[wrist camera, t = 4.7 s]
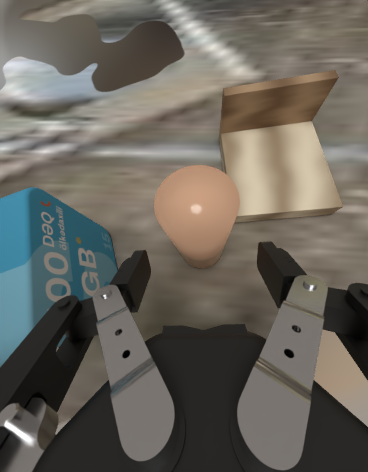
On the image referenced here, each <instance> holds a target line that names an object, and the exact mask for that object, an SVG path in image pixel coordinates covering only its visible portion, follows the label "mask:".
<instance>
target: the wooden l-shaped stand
mask: <svg viewBox="0 0 368 472" xmlns="http://www.w3.org/2000/svg"><path fill="white" fill-rule="evenodd" d="M338 78H339V77H338V75H337V73H336V71H335V70H333V71H327V72H321V73H315V74H309V75H303V76H297V77H291V78H285V79H279V80H273V81H267V82H261V83H255V84H249V85H243V86H237V87H231V88H224V89H223V98H222V110H221V122H220V134H219V142H220V149H221V156H222V164H223V171H224V173H225V174H226V175H228V176H229V177H230V178H231V179H232V181H233V182H234V183H235V185H236V187H237V189H238V192H239V197H240V207H239V211H238V214H237V217H236V219H235V222H234V223H236V222H247V221H259V220H271V219H283V218H294V217H306V216H318V215H329V214H332V213H334V212H335V211H337V210H339V209H340V208H342V207H343V205H342V203H341V200H340V197H339V194H338V192H337V189H336V186H335V183H334V181H333V178H332V175H331V173H330V170H329V167H328V164H327V162H326V159H325V156H324V153H323V151H322V148H321V145H320V142H319V140H318V137H317V134H316V132H315V129H314V126H313V123H312V120H313V118H314V117H315V115H316V113H317V112H318V110H319V108H320V107H321V105H322V104H323V102H324V100H325V99H326V97H327V96H328V94H329V92H330V91H331V89H332V87H333V86H334V84H335V83H336V81H337V79H338Z"/></svg>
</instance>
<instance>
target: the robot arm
mask: <svg viewBox="0 0 368 472" xmlns="http://www.w3.org/2000/svg"><path fill="white" fill-rule="evenodd" d="M257 267H258V270H259V272H260V274H261V276H262V278H263V280H264V282H265V284H266V286H267V288H268V290H269V292H270V294H271V296H272V298H273V299H274V301H275V303H276V305H277V307H278V308H280V310H279V312H278V315H277V317H276V319H275V322H274V324H273V326H272V329H271V331H270V333H269V336H268V338H267V340H266V339H265V338H263V337H261V336H259V335H257V334H254V333H251V332H248V331H247V330H246V327H245V324H235V325H221V326H218V327H214V328H210V329H207V330H200V329H195V328H191V327H187V326H164V327H163V333H160V334H158V335H155V336H153V337H152V338H150V339H149V340H147V341H146V342H144V340H143V338H142V336H141V334H140V332H139V330H138V328H137V325H136V323H135V321H134V319H133V317H132V315H131V312H138V309H139V306H140V303H141V301H142V298H143V295H144V292H145V289H146V286H147V284H148V281H149V278H150V275H151V267H150V263H149V259H148V255H147V252H146V250H140V251H135V252H134V253H133V255H132V257H131V258H128V259H126V260H125V261H124V262H123V263H122V265H121V266H120V268H119V270H118V272H117V273H116V274H115V276H114V277H113V279H112V281H111V282H110V284H109V285H107V286H104V287H102V288H100V289H99V290H97V291H96V292H95V294H94V295H93V297H91V298H88V299H84V300H81V301H79V299H78V297H77V296H75V295H69V296H66V297H63V298H61V299H60V300H58V301H57V302H55V303H54V304H53V305H52V306H51V308H50V309H49V310H48V311H47V312H46V313H45V315H44V316H43V317H42V318H41V319H40V321H39V322H38V323H37V324H36V325H35V327H34V328H33V329H32V330H31V331H30V333H29V334H28V335H27V336H26V337H25V339H24V340H23V341H22V342H21V343H20V344H19V346H18V347H17V348H16V349H15V350H14V352H13V353H12V354H11V355H10V356H9V358H8V359H7V360H6V361H5V362H4V364H3V365H2V366H1V367H0V472H368V427H367V426H366V425H365V424H364V423H363V422H361V421H360V420H359V419H358V418H357V417H356V416H354V415H353V414H352V413H351V412H350V411H349V410H348V409H346V408H345V407H344V406H343V405H342V404H341V403H339V402H338V401H337V400H336V399H335V398H334V397H333V396H332V395H330V394H329V393H328V392H327V391H326V390H324V388H322V387H321V386H320V385H319V384H318V383H317V382H315V381H314V380H313V379H314V374H315V368H316V362H317V356H318V351H319V345H320V340H321V334H322V329H324V330H328V331H332V332H335V333H336V335H337V336H338V338H339V339H340V340H341V342H342V343H343V345H344V346H345V348H346V349H347V351H348V352H349V354H350V355H351V357H352V358H353V360H354V361H355V362H356V364H357V365H358V367H359V368H360V370H361V371H362V373H363V374H364V376H365V377H366V379H367V380H368V285H367V284H362V283H354V284H351V285H349V287H348V289H347V290H341V289H335V288H329V287H327V285H326V284H325V283H324V282H323V281H321V280H320V279H318V278H315V277H312V276H308V275H307V274H306V273H305V272H304V271H303V269H302V268H301V267H300V266H299V265H298V264H297V263H296V262H295V260H294V259H293V258H292V257H291V256H290V255H289V253H288V252H286V251H285V250H283V249H281V248H276V246H275V245H274V244H273V243H272V242H259V245H258V255H257ZM64 334H65V335H66V338H65V339H64V341H63V342H62V344H61V346H60V347H59V349H58V350H57V352H56V348H57V346H58V344H59V342H60V340H61V339H62V337H63V336H64ZM98 334H99V338H100V342H101V347H102V351H103V356H104V360H105V365H106V369H107V373H108V378H109V380H108V381H107V382H106V383H105V384H104V385H103V386H102V387H101V388H100V389H99V390H98V391H97V392H96V393H95V395H94V396H93V397H92V398H91V399H90V400H89V401H88V402H87V403H86V404H85V405H84V406H83V407H82V408H81V409H80V410H79V411H78V412H77V413H76V414H75V416H74V417H73V418H72V419H71V420H70V421H69V422H68V423H67V424H66V425H65V426H64V427H63V428H62V429H61V430H60V431H59V432H58V434H57V435H55V432H56V429H57V426H58V414H57V412H58V410H59V407H60V405H61V403H62V401H63V399H64V397H65V395H66V393H67V391H68V389H69V387H70V385H71V382H72V380H73V378H74V376H75V374H76V372H77V370H78V368H79V366H80V364H81V362H82V360H83V358H84V355H85V353H86V351H87V349H88V347H89V345H90V343H91V341H92V339H93V337H94V336H95V335H98Z"/></svg>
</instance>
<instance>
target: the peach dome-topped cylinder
mask: <svg viewBox="0 0 368 472" xmlns="http://www.w3.org/2000/svg"><path fill="white" fill-rule="evenodd" d="M239 207H240V197H239V192H238V189H237V187H236V185H235V183H234V182H233V181H232V179H231V178H230V177H229V176H228V175H226V174H225V173H224V172H222V171H220V170H219V169H216V168H214V167H210V166H204V165H193V166H188V167H184V168H181V169H179V170H177V171H175V172H173V173H172V174H171V175H169V176H168V177H167V178H166V179H165V180H164V181H163V182H162V184H161V185H160V186H159V188H158V190H157V193H156V196H155V200H154V210H155V215H156V218H157V220H158V222H159V224H160V225H161V227H162V228H163V229H164V231H165V232H166V234H167V235H168V237H169V238H170V239H171V241H172V242H173V244H174V245H175V247H176V248H177V250H178V251H179V252H180V254H181V255H182V257H183V258H184V260H185V261H186V262H187V263H188V264H189V265H191V266H193V267H195V268H208V267H211V266H212V265H214V264H215V263H216V262H217V261H218V260H219V259H220V257H221V254H222V252H223V249H224V247H225V244H226V242H227V239H228V237H229V234H230V232H231V229H232V227H233V224H234V222H235V219H236V217H237V214H238V211H239Z"/></svg>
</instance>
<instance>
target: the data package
mask: <svg viewBox="0 0 368 472" xmlns="http://www.w3.org/2000/svg"><path fill="white" fill-rule="evenodd" d="M117 272H118V270H117V265H116V261H115V256H114V251H113V246H112V241H111V238H110V235H109V234H108V232H107V231H106V229H104V228H103V227H102V226H100V225H98V224H97V223H95V222H93V221H92V220H90V219H89V218H87V217H85V216H84V215H82V214H81V213H79V212H77V211H76V210H74V209H72V208H71V207H69V206H68V205H66V204H64V203H63V202H61V201H59V200H58V199H56V198H55V197H53V196H51V195H50V194H48V193H47V192H45V191H43V190H41V189H38V188H27V189H24V190H22V191H19V192H16V193H14V194H11V195H8V196H6V197H3V198H0V367H1V366H2V365H3V364H4V362H5V361H6V360H7V359H8V358H9V356H10V355H11V354H12V353H13V352H14V350H15V349H16V348H17V347H18V346H19V344H20V343H21V342H22V341H23V340H24V339H25V337H26V336H27V335H28V334H29V333H30V331H31V330H32V329H33V328H34V327H35V325H36V324H37V323H38V322H39V321H40V319H41V318H42V317H43V316H44V315H45V313H46V312H47V311H48V310H49V309H50V308H51V306H52V305H53V304H54V303H55V302H57V301H58V300H60V299H61V298H63V297H66V296H69V295H75V296H77V297H78V299H79V301H81V300H84V299H88V298H91V297H93V295H94V294H95V292H96V291H97V290H99V289H100V288H102V287H104V286H107V285H109V284H110V282H111V281H112V279H113V277H114V276H115V274H116V273H117ZM65 338H66V335H65V334H64V336H63V337H62V339H61V340H60V342H59V344H58V346H57V347H59V346H61V344H62V342H63V341H64V339H65Z"/></svg>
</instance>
